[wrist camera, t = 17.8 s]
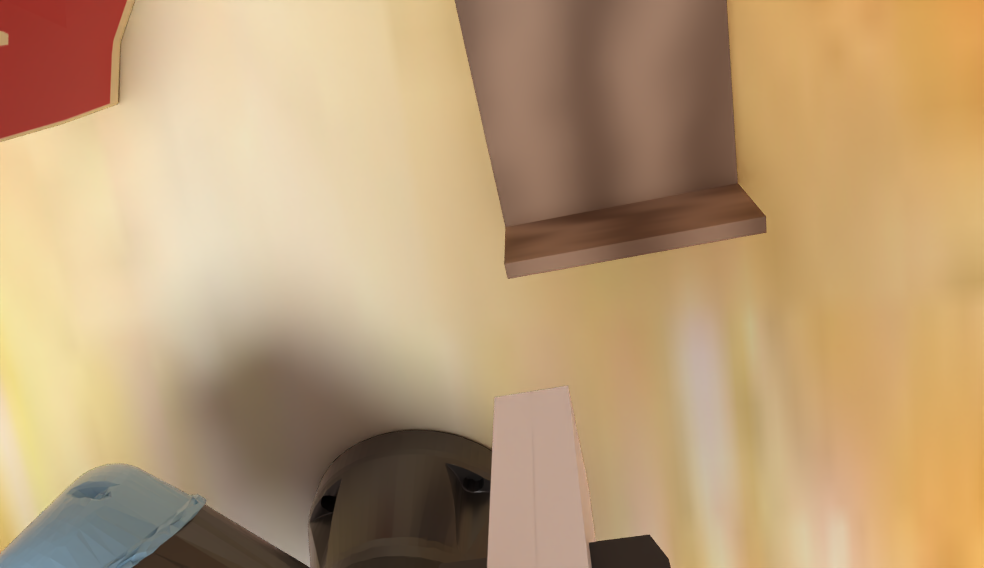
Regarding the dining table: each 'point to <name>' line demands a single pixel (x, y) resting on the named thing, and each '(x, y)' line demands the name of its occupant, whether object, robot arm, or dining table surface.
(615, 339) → the dining table surface
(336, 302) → the dining table surface
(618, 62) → the rack
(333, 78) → the dining table surface
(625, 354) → the dining table surface
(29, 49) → the milk carton
